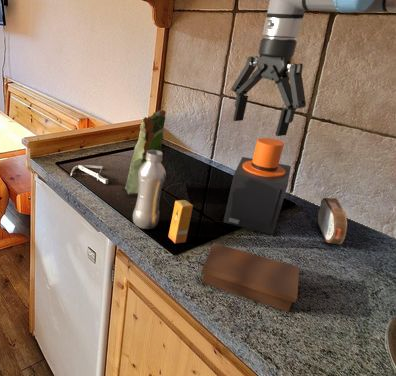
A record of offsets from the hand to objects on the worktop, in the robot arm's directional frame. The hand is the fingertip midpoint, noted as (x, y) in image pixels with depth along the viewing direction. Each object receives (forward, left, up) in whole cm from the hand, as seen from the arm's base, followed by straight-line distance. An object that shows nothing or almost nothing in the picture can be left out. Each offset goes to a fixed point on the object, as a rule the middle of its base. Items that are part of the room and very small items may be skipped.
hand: (258, 127), depth 102 cm
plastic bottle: (+19, +22, -24) cm, 38 cm away
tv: (-4, +2, -24) cm, 24 cm away
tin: (-21, +1, -24) cm, 32 cm away
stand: (-7, +33, -24) cm, 41 cm away
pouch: (+26, +4, -24) cm, 36 cm away
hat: (-4, +2, -10) cm, 11 cm away
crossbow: (+45, 0, -24) cm, 51 cm away
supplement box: (+10, +24, -24) cm, 36 cm away
